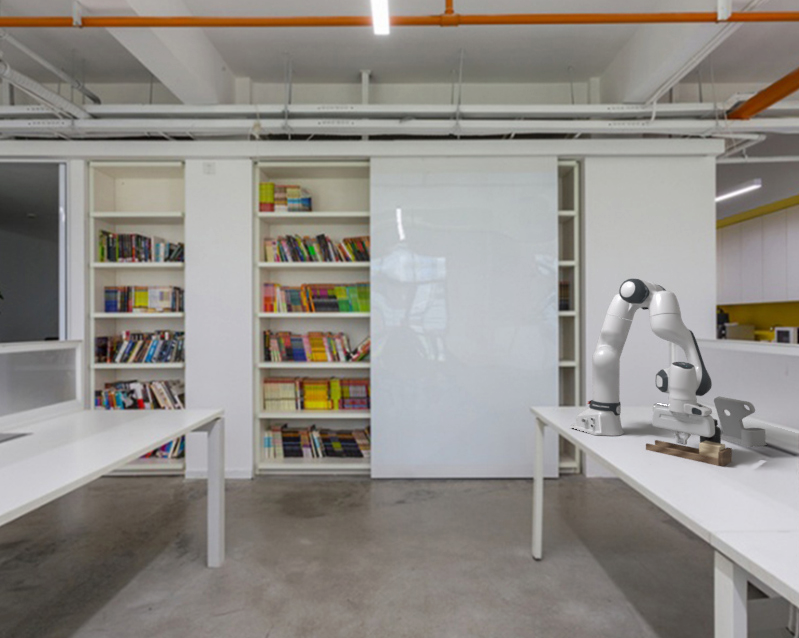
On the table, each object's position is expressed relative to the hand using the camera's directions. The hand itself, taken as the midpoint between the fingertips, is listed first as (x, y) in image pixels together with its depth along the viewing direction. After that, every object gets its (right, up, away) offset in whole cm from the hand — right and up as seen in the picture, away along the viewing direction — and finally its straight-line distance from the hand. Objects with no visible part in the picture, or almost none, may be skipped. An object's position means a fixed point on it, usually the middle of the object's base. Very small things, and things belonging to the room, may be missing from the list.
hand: (681, 443), depth 166 cm
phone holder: (+39, -6, +23) cm, 46 cm away
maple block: (+6, -4, -7) cm, 10 cm away
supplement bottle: (+18, -6, +10) cm, 21 cm away
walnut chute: (+1, -5, -1) cm, 6 cm away
